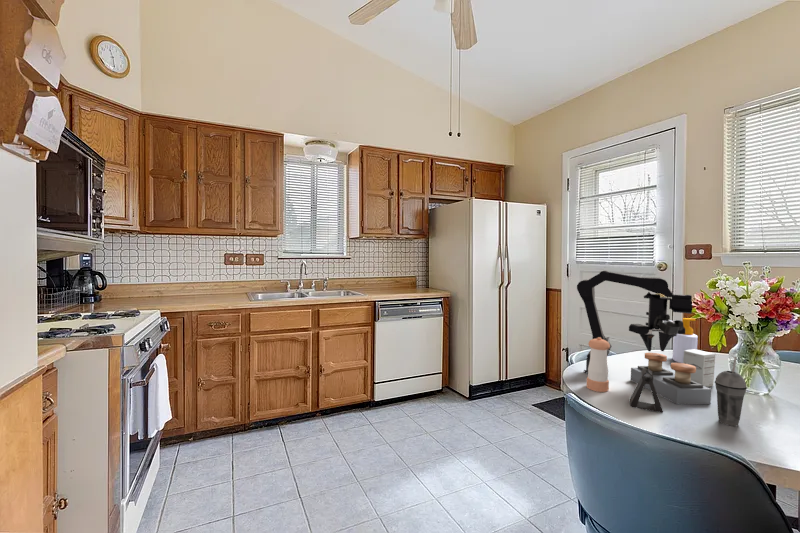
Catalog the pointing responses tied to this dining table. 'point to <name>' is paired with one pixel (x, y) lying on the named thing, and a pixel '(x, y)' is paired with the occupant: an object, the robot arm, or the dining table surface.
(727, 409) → the beverage cup
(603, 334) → the robot arm
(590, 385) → the salt shaker
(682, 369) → the pin right
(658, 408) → the phone stand
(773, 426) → the dining table surface
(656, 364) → the pin left
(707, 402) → the socket block
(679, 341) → the soap bottle
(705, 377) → the supplement box
